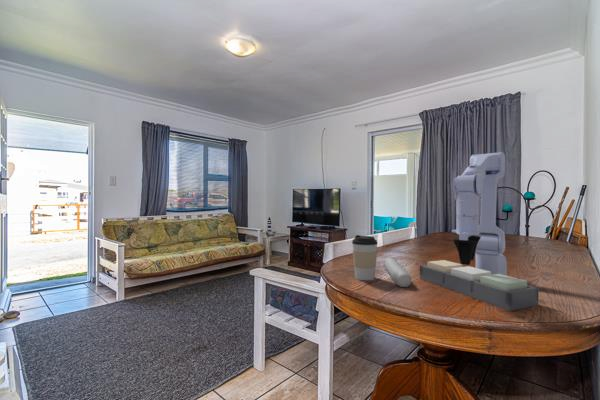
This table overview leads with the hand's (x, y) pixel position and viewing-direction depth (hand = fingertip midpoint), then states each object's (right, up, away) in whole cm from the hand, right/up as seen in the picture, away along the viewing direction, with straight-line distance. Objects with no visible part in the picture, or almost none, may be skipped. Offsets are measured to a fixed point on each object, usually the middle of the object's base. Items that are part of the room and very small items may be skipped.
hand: (467, 261), depth 85 cm
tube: (-15, -10, +19) cm, 26 cm away
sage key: (+7, -6, -5) cm, 10 cm away
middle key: (+3, -6, +4) cm, 8 cm away
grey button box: (+3, -10, +4) cm, 11 cm away
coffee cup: (-26, -10, +19) cm, 34 cm away
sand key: (0, -6, +14) cm, 15 cm away
